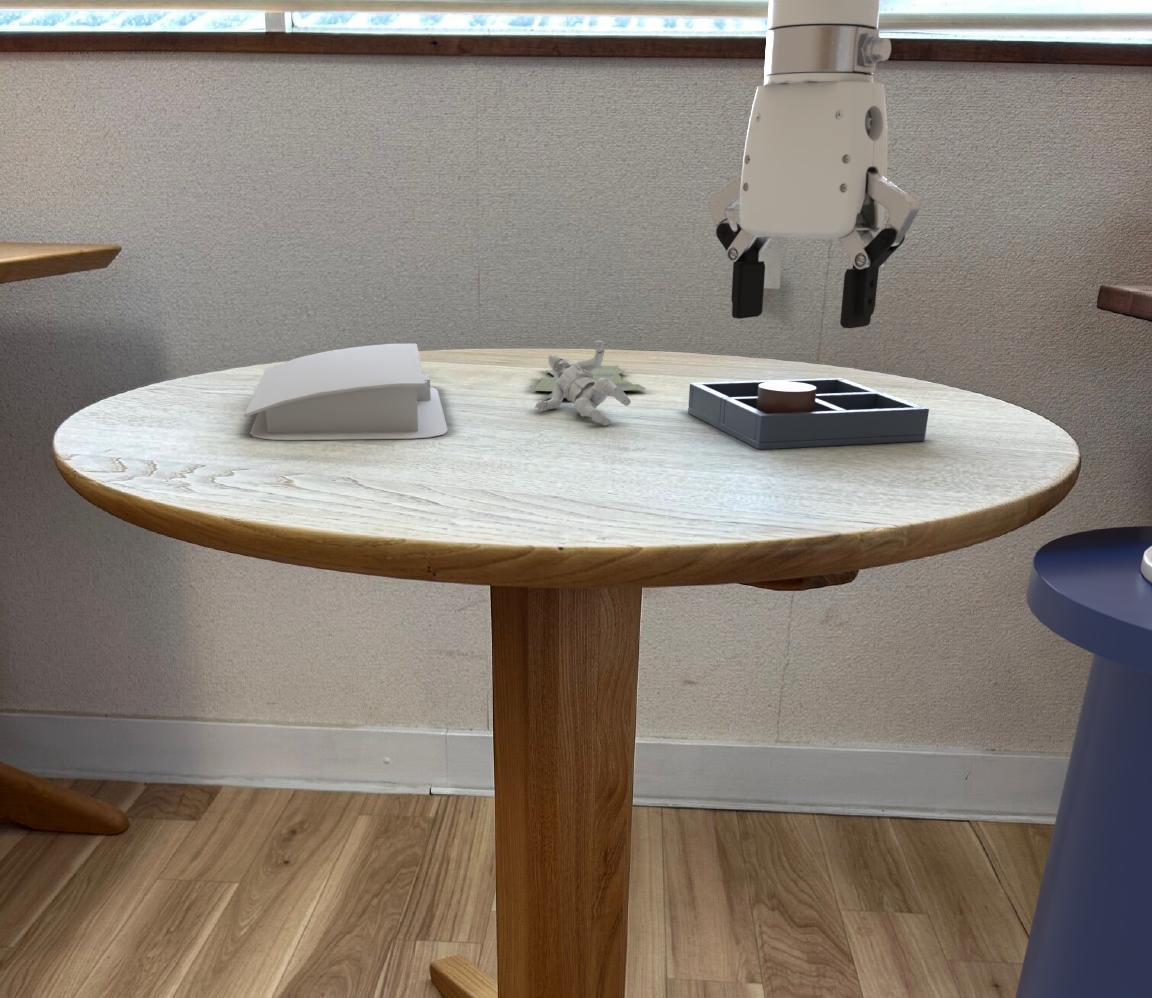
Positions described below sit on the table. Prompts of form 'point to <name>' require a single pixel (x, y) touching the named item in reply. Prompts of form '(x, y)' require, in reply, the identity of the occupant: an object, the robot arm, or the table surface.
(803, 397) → the cylinder
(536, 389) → the map
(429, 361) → the table surface
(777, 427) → the grid
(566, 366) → the soldier figure
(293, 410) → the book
